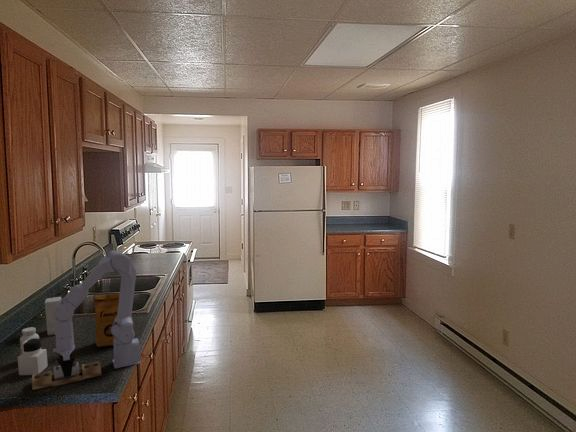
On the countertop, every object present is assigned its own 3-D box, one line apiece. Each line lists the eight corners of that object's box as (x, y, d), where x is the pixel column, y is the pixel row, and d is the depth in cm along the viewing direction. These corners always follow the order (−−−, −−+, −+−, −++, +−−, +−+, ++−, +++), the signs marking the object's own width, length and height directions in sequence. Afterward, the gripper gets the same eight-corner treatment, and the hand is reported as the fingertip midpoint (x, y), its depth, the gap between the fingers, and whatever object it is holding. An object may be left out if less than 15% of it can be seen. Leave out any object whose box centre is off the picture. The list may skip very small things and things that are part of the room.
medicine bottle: (48, 366, 171) (45, 336, 170) (38, 375, 164) (35, 343, 163) (29, 366, 171) (26, 336, 170) (18, 375, 164) (16, 344, 163)
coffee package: (126, 346, 190) (123, 295, 187) (94, 350, 186) (91, 298, 184) (127, 337, 199) (124, 289, 197) (96, 341, 195) (93, 292, 193)
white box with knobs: (79, 374, 165) (78, 360, 164) (79, 379, 161) (78, 364, 160) (54, 379, 161) (53, 364, 160) (54, 384, 157) (53, 369, 157)
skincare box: (62, 333, 205) (60, 300, 203) (46, 336, 202) (43, 302, 200) (64, 327, 212) (62, 296, 211) (48, 329, 210) (46, 297, 208)
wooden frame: (99, 367, 169) (98, 359, 169) (101, 375, 163) (101, 367, 163) (33, 381, 159) (32, 372, 159) (32, 390, 153) (31, 381, 152)
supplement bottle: (44, 356, 180) (41, 326, 179) (35, 363, 174) (33, 332, 172) (27, 357, 180) (24, 326, 179) (18, 364, 173) (15, 332, 172)
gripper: (51, 331, 164) (54, 366, 165) (52, 345, 151) (55, 383, 153) (73, 327, 167) (75, 362, 169) (75, 340, 154) (77, 378, 156)
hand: (67, 371), depth 161 cm, fingers open, 7 cm apart
